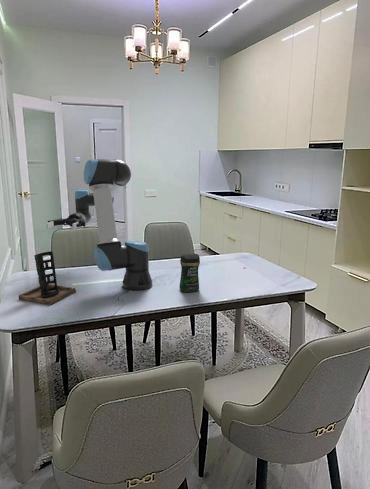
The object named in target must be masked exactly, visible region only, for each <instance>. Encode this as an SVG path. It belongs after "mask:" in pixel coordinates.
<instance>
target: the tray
mask: <svg viewBox="0 0 370 489" xmlns="http://www.w3.org/2000/svg"><path fill="white" fill-rule="evenodd" d="M53 287H55V285H54V284H53V283H51V284H47V288H53ZM57 287H58V290H59V293H58V294H56V295H54V296H51V297H48V298H42V296H41V289H40V285H39V286H37V287H34V288H32V289H30V290H28V291H26V292H23V293H21V294H18V296H17V297H18V300H19V301H24V302H30V303H31V302H32V303H36V304H42V305H47V306H52V305H54V304H56V303H57V302H59V301H61V300H64V299H66V298H68V297H70V296H71V295H74V294H75V293H77V288H76V287H71V286H63V285H59V284H57ZM55 291H56V290H53V291H49V292H55ZM43 296H47V295H43Z"/></svg>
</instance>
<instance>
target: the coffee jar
mask: <svg viewBox="0 0 370 489" xmlns="http://www.w3.org/2000/svg"><path fill="white" fill-rule="evenodd" d="M200 259H201V258H200V255H199V254H198V253H183V254H181V256H180V260H179V263H180V266H181V270H180V272H181V273H180V277H179V278H180V279H179V290H180V291H181V292H184V293H193V292H194V293H195V292H198V291H199V290H200V280H199V279H200V278H199V266H200V263H201V260H200Z"/></svg>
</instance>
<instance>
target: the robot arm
mask: <svg viewBox="0 0 370 489" xmlns="http://www.w3.org/2000/svg"><path fill="white" fill-rule="evenodd" d="M131 177H132V170H131V168H130V166H129V165H128V164H127V163H126V162H125V161H123V160H120V159H107V158H106V159H104V158H101V159H100V158H94V159H88V160H87V161H86V162H85V164H84V168H83V180H84V183H85V184H86V185H88V187H89V189H90V191H92V192H89V190H87V189H76V190H75V191H74V203H75V204H74V205H75V212H74V213H71V214H70V215H69V216H68V217H66V218H56V219H51V220H48V221H47V222H46V230H47V229H50V228H54V226H70V227H72V230H76V229H78V228H82V227H83V228H85V227H86V224H87V223H88V222H90V221H91V220H92V213H91V211H90V207H94V208H95V216H96V223H97V232H98V241H97V243H96V247H95V248H94V249H93V259H94V261H95V265H96V266H97V268H98V270H100V271H102V272H105V271H106V272H107V271H109V272H110V271H115V270H122V269H125V273H124V277H123V278H122V288H123V289H125V290H129V291H143V290H149V289H151V287H152V286H153V279H152V276H151V274H150V270H149V266H150V264H149V263H150V262H149V260H150V258H149V257H150V256H149V254H150V251H149V245H148V243H147V242H145V241H140V240H131V239H130V240H129V239H128V240H125V241H124V244H122V242H121V240H120V239H119V238H118V234H117V228H116V219H115V212H114V211H115V210H114V201H115V198H114V197H115V196H116V195H117V193H119V191H120V189H121V188H122V187H124V186H126V185H127V184H128V183H129V182H130V180H131Z"/></svg>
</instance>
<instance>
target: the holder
mask: <svg viewBox="0 0 370 489" xmlns="http://www.w3.org/2000/svg"><path fill="white" fill-rule="evenodd" d="M33 256H34V261H35V262H34V263H35V267H36V272H37V276H38V285H39V286H40V289H41V296H42V298H48V297H51V296H54V295H56V294H58V293H59V290H58V287H57V285H58V281H57V280H58V279H57V274H56V267H55V259H54V252H53V251H52V250H51V251H45V252H40V253H37V254H34V255H33ZM44 256H50V258H49V259H44ZM49 263H51V265H49ZM49 270H52V273H47V274H46V271H49ZM51 277H53V280H51ZM47 284H53V285H55V287H53V288H47ZM53 290H56V291H55V292H49V291H53ZM43 295H47V296H43Z"/></svg>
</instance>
